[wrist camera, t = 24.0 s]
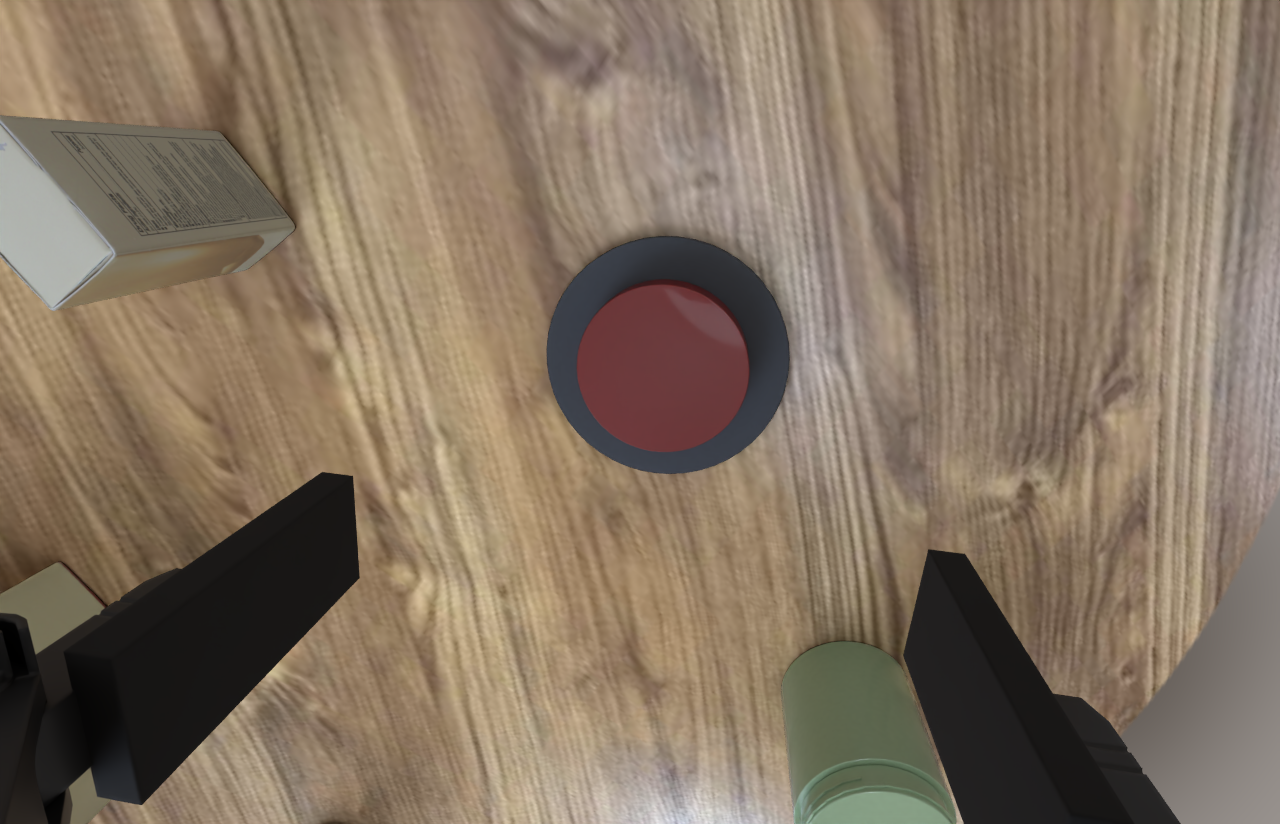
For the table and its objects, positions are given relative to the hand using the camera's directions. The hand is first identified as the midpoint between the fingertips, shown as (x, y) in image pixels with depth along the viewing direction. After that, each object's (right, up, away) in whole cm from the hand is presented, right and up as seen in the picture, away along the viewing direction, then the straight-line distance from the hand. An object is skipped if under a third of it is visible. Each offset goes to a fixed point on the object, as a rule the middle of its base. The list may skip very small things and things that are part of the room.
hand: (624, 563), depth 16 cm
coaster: (+2, +6, +22) cm, 23 cm away
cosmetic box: (-22, +15, +22) cm, 34 cm away
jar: (+13, -14, +27) cm, 33 cm away
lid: (+1, +6, +20) cm, 20 cm away
